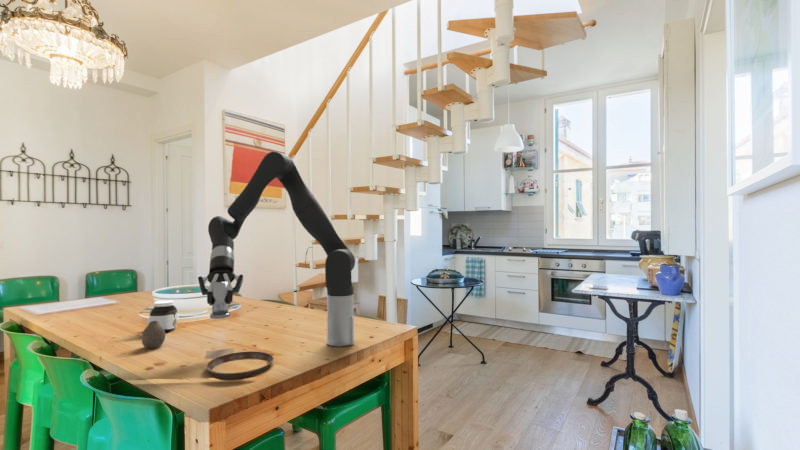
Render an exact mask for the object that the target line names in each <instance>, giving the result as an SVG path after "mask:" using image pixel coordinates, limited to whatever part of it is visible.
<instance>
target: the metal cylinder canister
mask: <svg viewBox="0 0 800 450" xmlns="http://www.w3.org/2000/svg"><path fill="white" fill-rule="evenodd" d="M211 306H212V307H211V313H210V314H209V315H210V319H213V320H221V319H225V318H226V319H227V318H229V317H231V312H230V311H229V304H228V281H217V282H212V305H211Z"/></svg>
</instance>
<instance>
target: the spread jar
mask: <svg viewBox="0 0 800 450" xmlns="http://www.w3.org/2000/svg"><path fill="white" fill-rule="evenodd" d="M174 303H175V301H174V300H158V301H155V302H153V307H152V308H151V310H150V312H149V316H148V319H147V322H146V325H147V326H148V324H149V322H151V321H158V323H159V324H160V325H161V326H162V327H163V329H164V331H165V334H166V333H171V332H173V331H175V329H176V328H177V326H178V325H177V324H178V309H177V307H176V306H175V305H174ZM170 331H171V332H170Z"/></svg>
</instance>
